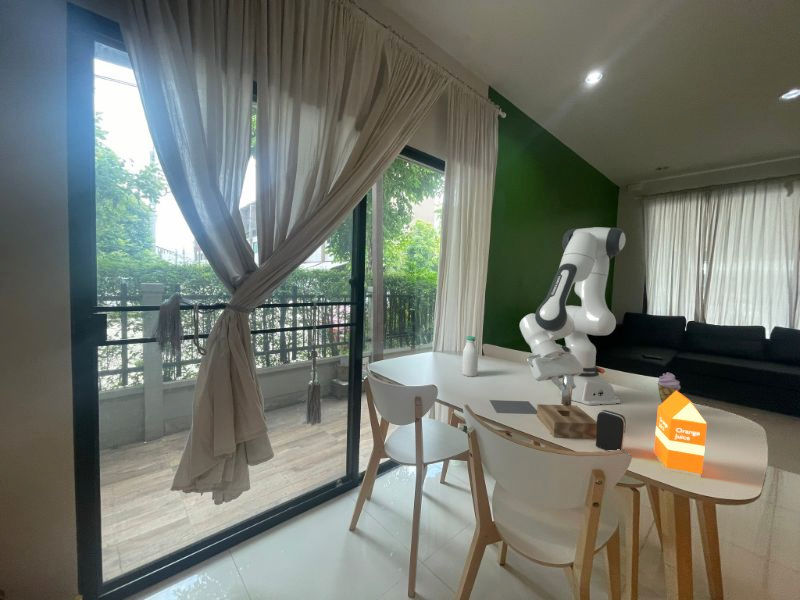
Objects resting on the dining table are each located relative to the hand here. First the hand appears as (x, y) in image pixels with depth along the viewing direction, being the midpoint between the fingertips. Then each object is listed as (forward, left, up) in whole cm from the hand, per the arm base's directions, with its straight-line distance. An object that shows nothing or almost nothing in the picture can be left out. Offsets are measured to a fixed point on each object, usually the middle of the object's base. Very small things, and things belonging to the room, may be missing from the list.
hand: (568, 389), depth 107 cm
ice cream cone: (-47, -18, -14) cm, 52 cm away
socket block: (0, -1, -14) cm, 14 cm away
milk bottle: (+23, -56, -14) cm, 62 cm away
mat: (+13, -16, -14) cm, 25 cm away
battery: (-7, +12, -14) cm, 20 cm away
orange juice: (-21, +19, -14) cm, 32 cm away
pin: (0, 0, -5) cm, 5 cm away
